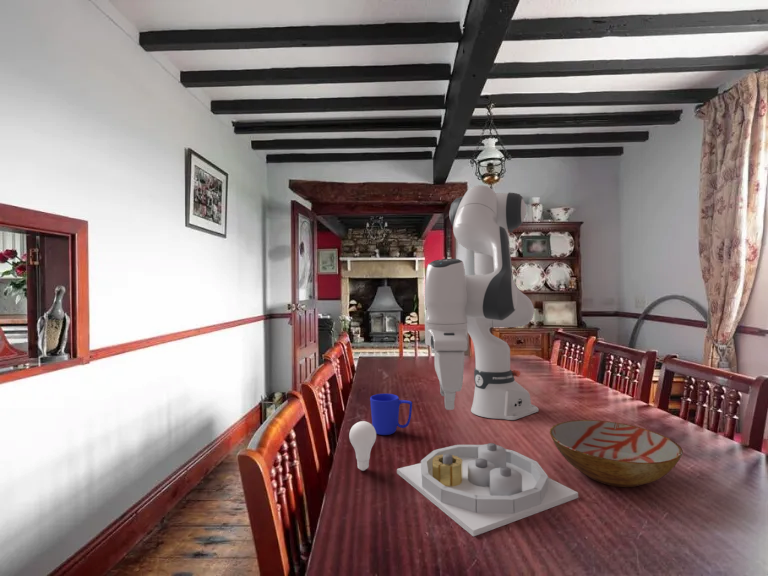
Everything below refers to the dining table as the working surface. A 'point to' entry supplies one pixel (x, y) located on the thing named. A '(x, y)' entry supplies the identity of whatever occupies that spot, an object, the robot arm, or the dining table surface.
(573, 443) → the bowl
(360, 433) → the lightbulb
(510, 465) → the carrier board
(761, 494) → the dining table surface
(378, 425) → the mug
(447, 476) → the wooden octagonal ring
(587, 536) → the dining table surface
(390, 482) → the dining table surface
